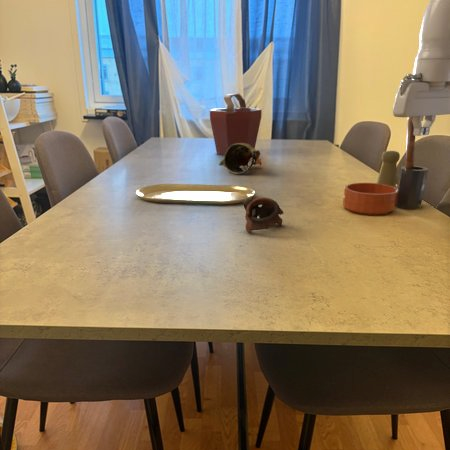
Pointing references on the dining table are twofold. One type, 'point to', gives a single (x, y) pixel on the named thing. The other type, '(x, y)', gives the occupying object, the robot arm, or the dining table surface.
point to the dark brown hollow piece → (262, 214)
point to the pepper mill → (389, 168)
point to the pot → (240, 158)
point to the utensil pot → (411, 187)
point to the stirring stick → (410, 145)
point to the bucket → (234, 124)
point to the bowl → (370, 198)
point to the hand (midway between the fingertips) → (420, 135)
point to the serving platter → (195, 194)
